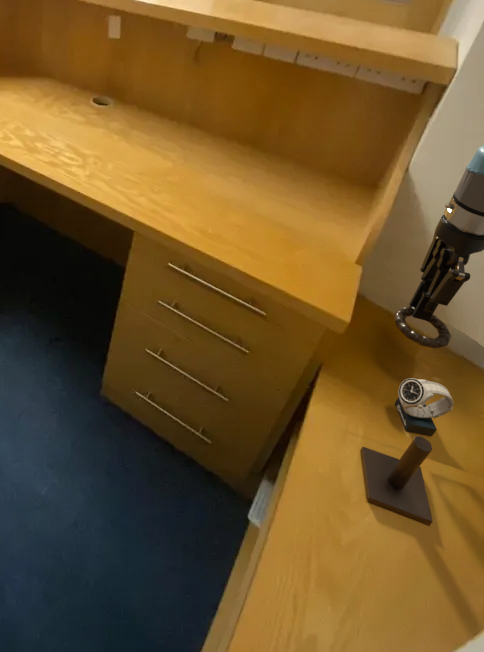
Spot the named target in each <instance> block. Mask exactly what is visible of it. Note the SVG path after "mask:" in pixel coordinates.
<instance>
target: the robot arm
mask: <svg viewBox="0 0 484 652" xmlns="http://www.w3.org/2000/svg"><path fill="white" fill-rule="evenodd" d="M444 207H445V210H444V214H442V216H441V217H440V219H439V221H438V223H437V225H436V227H435V229H434V234H433V237H432V241H431V243H430V246H429V247H428V249H427V252H426V254H425V257H424V259H423V262H422V264H421V266H420V269H419V271H420V272H421V273H422V274H421V276H420V279H421V281H420V283H419V285H418V287H417V288H416V290H415V292H414V293H413V296H412V298H411V299H410V301H409V303H408V304H409V307H415V310H414V312H413V314H412V316H411V317H412V318H414V319H418V320H422V321H425V322H427V321H429V320H430V318H431V316H432V315H434V313H435V311H436V310H437V308H438V306H439V305H441V306H445V307H448V305H449V304H450V303H451V302H452V300H453V299H454V297H455V296H456V295H457V293H458V292H459V290H460V289H461V288H462V287H463V285H464V283H466V282H468V281H469V280H471V273H469V272H467V271H465V266H467V264H468V263H469V260H470V257H471V255H472V254H476V253H481V252H483V251H484V145H481V146H480V147H478V148H477V150H476V152H475V153H474V154H473V156H472V158H471V159H470V161H469V163H468V164H467V165H466V167H465V170H464V172H463V174H462V176H461V177H460V180H459V182H458V184H457V186H456V188H455V190H454V192H453V194H452V196H451V198H450V200H449V202H446V203H445V205H444Z"/></svg>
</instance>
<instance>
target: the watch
mask: <svg viewBox="0 0 484 652" xmlns="http://www.w3.org/2000/svg"><path fill="white" fill-rule="evenodd" d="M397 393H398V396H397V398H396V400H395V402H394V405H395V408H396V410H397V413H398V416H399V418H400V420H401V423H402V425H403V428H404V430H405V432H409V433H414V434H418V435H424V436H429V437H432V436H433V435H434V434H435V433H436V431H437V430H438V429H437V427H436V425H435V422H434V421H433V418H434V419H437V418H440V417H442V416H445V415H447V414H448V413H450V412H451V411H453V408H454V406H455V402H454V399H453V397H452V395H451V394H450V391H449V390H448V388H447V387H446V386H445V385H442V384H441V383H439V382H435V381H431V380H430V381H429V380H427V379H423V378H422V379H421V378H420V379H419V378H418V379H417V378H414V377H409V378H406V379H404V380H402V382H401V383H400V384H399V387H398V392H397ZM435 395H439V396H443V397H441V398H440V399H437V400H436V401H433V402H432V403H429V404H427V402H428V401H430V400H431V399H432V398H434V397H435ZM427 405H428V406H427Z"/></svg>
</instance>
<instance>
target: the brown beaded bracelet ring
mask: <svg viewBox="0 0 484 652" xmlns="http://www.w3.org/2000/svg"><path fill="white" fill-rule="evenodd" d="M414 310H415V307H410V306H404V307H399V308H397V310H396V312H395V313H394V315H393V319H394V323H395V326H396V328H397V329H398V331H400V332H401V333H402V335H404V336H405V338H407V339H408V340H410V341H412V342H414V343H416V344H417V345H419V346H422V347H427V348H431V349H440V348H446V347H447V346H449V343H450V341H451V339H452V334H451V332H450V329H449V328H448V325H447V324H445V322H443V321H442V320H441V319H440V318H439V317H438V316H436V315H435V314H433V315H432V316H431V318H430V320H429V321H426V322H427V323H429V324H430V325H431V326H432V327H434V328H435V329H436V331H437V334H438V336H436V337H428V336H425V335H422V334H420V333H418V332H417V331H415V330H413V329H412V328H411V326H410V325H408V323H407V321H406V319H407V318H408V317H413V316H412V314H413V312H414Z"/></svg>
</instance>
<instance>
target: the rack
mask: <svg viewBox="0 0 484 652" xmlns="http://www.w3.org/2000/svg"><path fill="white" fill-rule="evenodd" d="M432 450H433V446H432V443H431V442H430V441H429V440H428V439H426V437H423V436H420V435H417V436H415V437H414V438H413V439H412V441H411V442H410V444H408V446H407V448H406V450H405V451H404V452H403V453H402V455H401V456H400V458H397V457H394V456H391V455H388V454H385V453H383V452H381V451H377V450H374V449H371V448H368V447H366V446H362V447H361V448H360V457H361V463H362V472H363V480H364V486H365V494H366V501H367V502H368V503H371V504H373V505H377V506H379V507H382V508H384V509H387V510H390V511H392V512H395V513H396V514H397V513H398V514H400V515H402V516H405V517H407V518H410V519H413V520H416V521H418V522H421V523H424V524H426V525H429V526H430V525H431V524H433V516H432V512H431V507H430V502H429V498H428V494H427V489H426V485H425V480H424V476H423V471H422V468H421V465H422V464H423V463H424V462H425V460H426V458H428V456H429V455H430V454H431V452H432Z"/></svg>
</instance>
